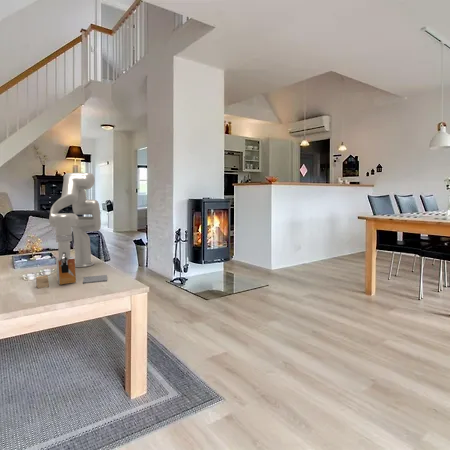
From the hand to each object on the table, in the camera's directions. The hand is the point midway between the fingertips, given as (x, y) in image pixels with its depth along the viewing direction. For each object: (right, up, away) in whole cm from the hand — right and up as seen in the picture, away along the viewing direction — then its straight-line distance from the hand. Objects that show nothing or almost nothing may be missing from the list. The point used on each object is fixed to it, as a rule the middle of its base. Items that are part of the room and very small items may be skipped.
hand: (66, 270), depth 181 cm
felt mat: (+13, -6, +6) cm, 15 cm away
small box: (0, -7, +1) cm, 7 cm away
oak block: (-9, -7, -6) cm, 13 cm away
